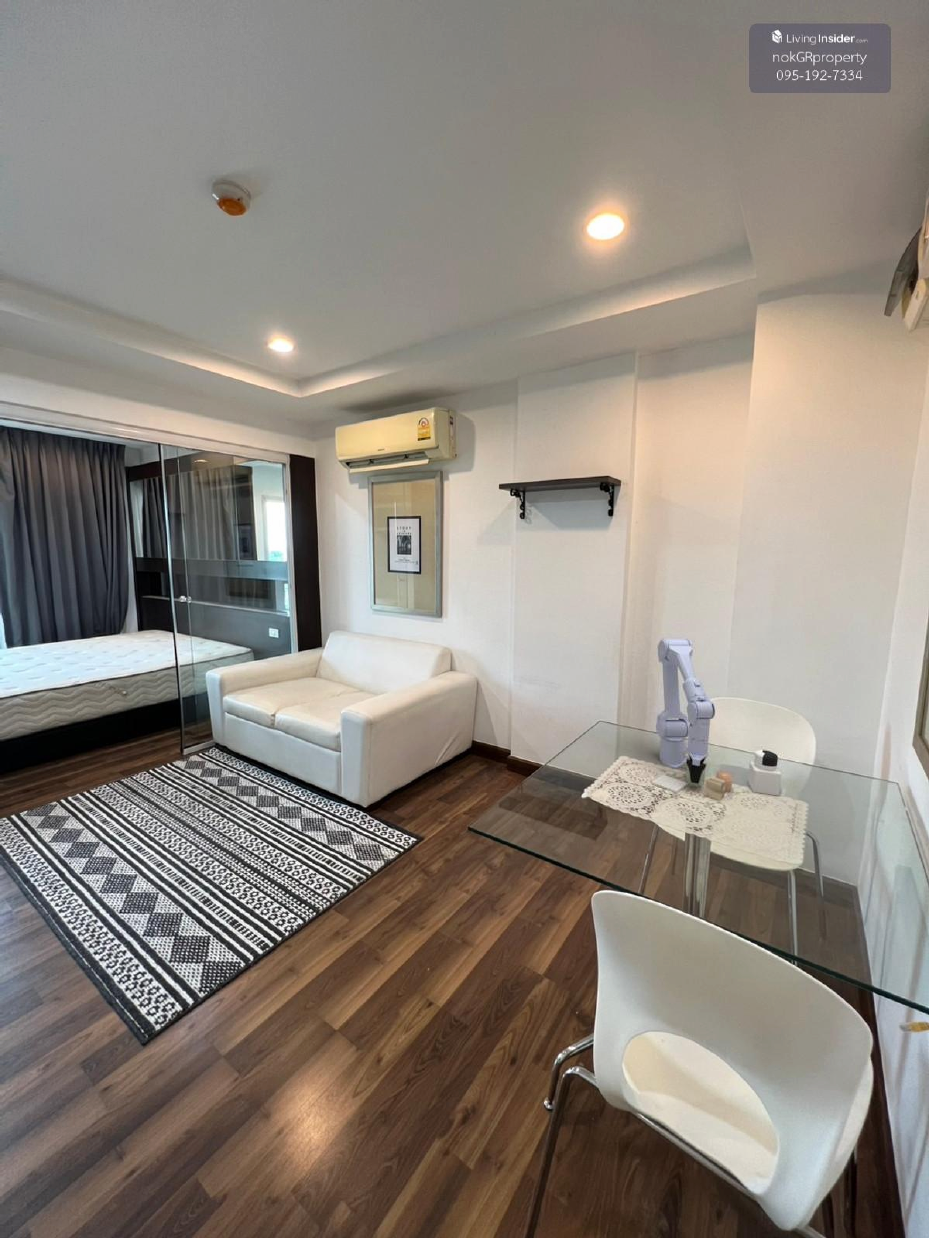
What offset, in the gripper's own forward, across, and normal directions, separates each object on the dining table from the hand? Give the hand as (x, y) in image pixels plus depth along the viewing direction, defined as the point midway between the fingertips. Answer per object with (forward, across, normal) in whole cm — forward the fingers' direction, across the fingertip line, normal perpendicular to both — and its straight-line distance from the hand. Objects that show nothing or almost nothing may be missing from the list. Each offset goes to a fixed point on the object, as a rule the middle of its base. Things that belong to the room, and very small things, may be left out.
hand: (695, 778), depth 154 cm
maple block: (+2, +6, +6) cm, 9 cm away
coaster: (+2, +5, -7) cm, 9 cm away
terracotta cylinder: (+2, 0, +8) cm, 8 cm away
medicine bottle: (+2, -6, +19) cm, 20 cm away
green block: (+2, 0, 0) cm, 2 cm away
